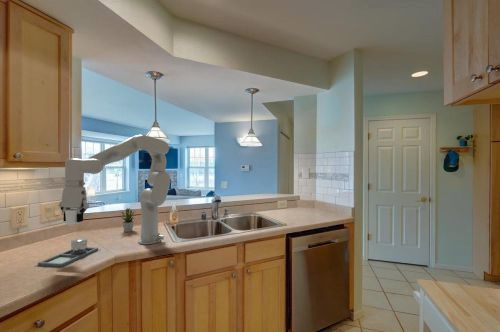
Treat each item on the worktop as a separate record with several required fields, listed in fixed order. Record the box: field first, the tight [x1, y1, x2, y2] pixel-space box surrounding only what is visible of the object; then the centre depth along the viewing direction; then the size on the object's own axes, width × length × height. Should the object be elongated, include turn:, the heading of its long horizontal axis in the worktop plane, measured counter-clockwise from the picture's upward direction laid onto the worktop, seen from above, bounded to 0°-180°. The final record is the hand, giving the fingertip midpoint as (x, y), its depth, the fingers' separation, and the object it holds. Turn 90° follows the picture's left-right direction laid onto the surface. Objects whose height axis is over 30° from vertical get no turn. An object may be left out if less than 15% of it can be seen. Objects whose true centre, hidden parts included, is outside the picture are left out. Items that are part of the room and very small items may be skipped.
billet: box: [70, 238, 88, 255], centre depth 126 cm, size 7×7×6 cm
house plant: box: [117, 207, 136, 233], centre depth 175 cm, size 14×14×16 cm
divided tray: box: [34, 246, 101, 269], centre depth 121 cm, size 14×24×2 cm, turn 173°
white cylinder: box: [65, 208, 81, 226], centre depth 122 cm, size 7×7×7 cm
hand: (73, 220), depth 122 cm, fingers closed on white cylinder, 6 cm apart
